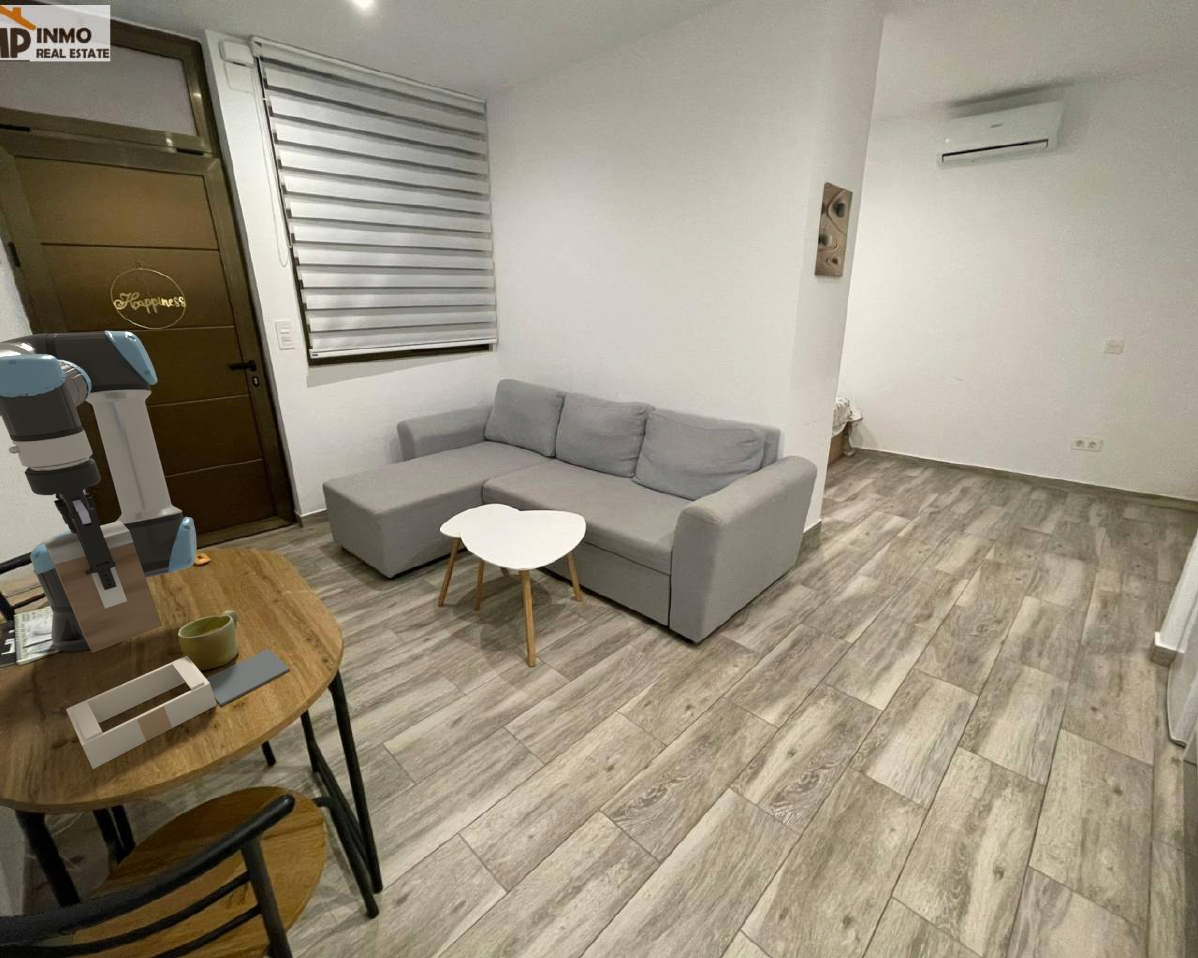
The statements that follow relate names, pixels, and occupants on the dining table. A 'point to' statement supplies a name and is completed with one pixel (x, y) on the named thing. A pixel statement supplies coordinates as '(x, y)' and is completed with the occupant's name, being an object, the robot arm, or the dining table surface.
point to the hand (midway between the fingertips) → (110, 596)
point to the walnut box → (84, 596)
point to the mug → (210, 640)
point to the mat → (246, 676)
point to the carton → (146, 724)
